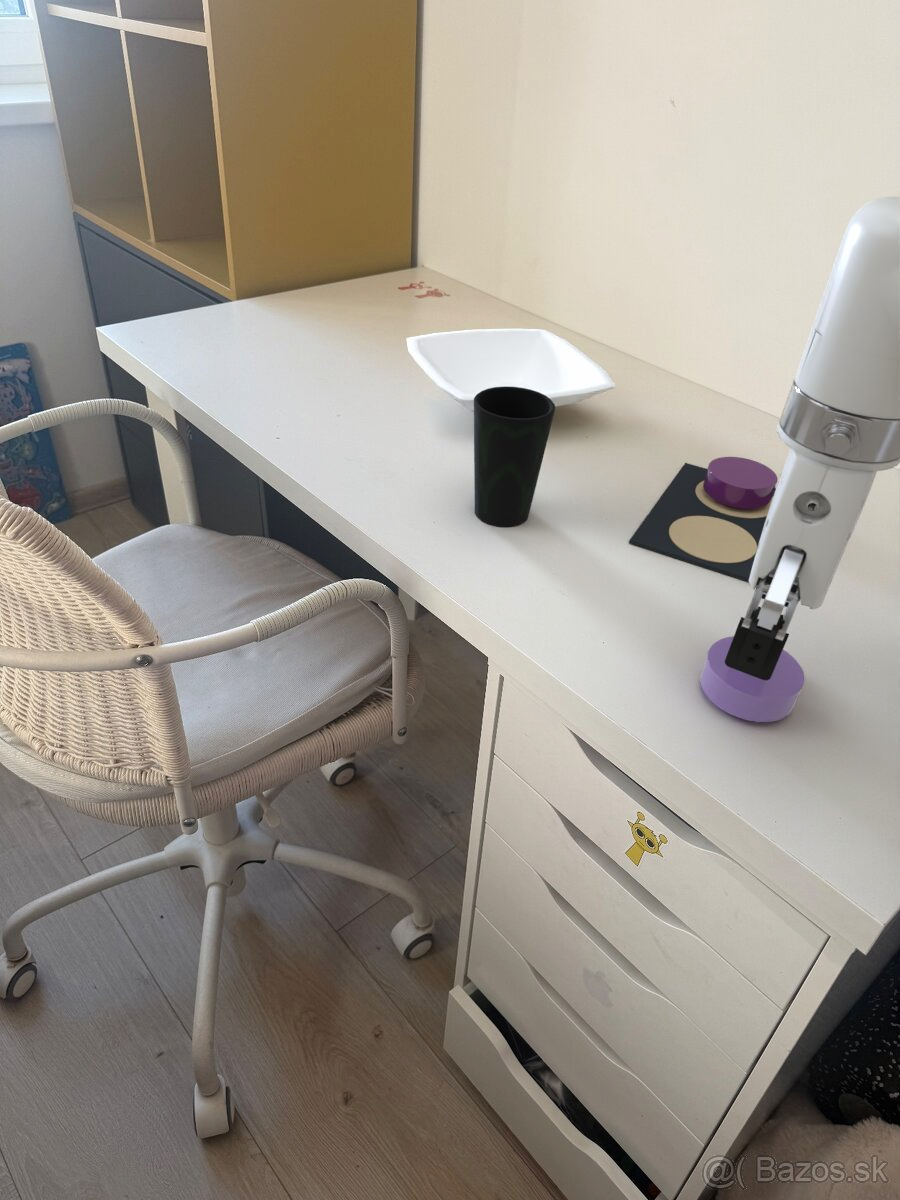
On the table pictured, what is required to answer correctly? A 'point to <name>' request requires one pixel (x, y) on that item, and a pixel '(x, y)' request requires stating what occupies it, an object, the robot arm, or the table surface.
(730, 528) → the placemat
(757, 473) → the purple short cylinder
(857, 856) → the table surface
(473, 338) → the bowl
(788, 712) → the lavender short cylinder
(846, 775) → the table surface
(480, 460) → the cup
